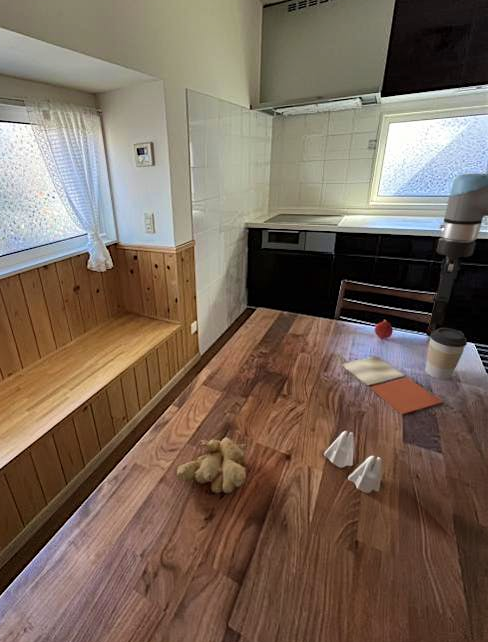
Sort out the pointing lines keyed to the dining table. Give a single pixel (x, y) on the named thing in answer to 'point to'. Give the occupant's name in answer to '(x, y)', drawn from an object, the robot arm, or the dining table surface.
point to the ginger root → (217, 466)
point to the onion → (383, 330)
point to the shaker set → (342, 456)
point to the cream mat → (372, 370)
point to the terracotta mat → (406, 395)
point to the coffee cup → (444, 352)
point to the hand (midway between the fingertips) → (437, 313)
